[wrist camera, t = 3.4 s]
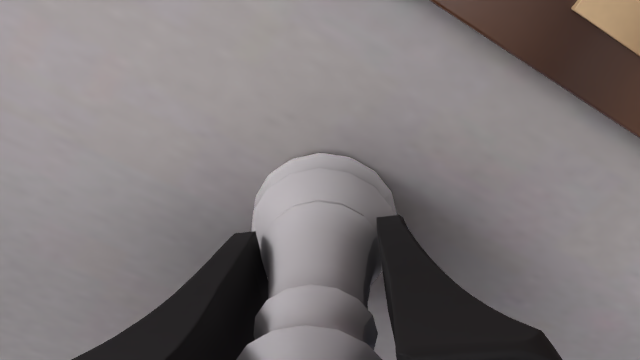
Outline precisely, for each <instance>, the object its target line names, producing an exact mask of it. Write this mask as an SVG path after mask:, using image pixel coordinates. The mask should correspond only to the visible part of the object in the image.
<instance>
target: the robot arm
mask: <svg viewBox="0 0 640 360" xmlns="http://www.w3.org/2000/svg"><path fill="white" fill-rule="evenodd" d="M376 220H377V234H378V241H379V248H380V255H381V263H382V270H383V277H384V284H385V292H386V299H387V306H388V312H389V317H390V321H391V326H392V331H393V335H394V340H395V346H396V357H397V360H562V358H561V357H560V355H559V354H558V352H557V351H556V349H555V348H554V346H553V345H552V344H551V342H550V341H549V340H548V338H547V337H546V336H545V334H544V333H543V332H542V331H541V330H538V329H536V328H533V327H531V326H529V325H526V324H524V323H521V322H519V321H516V320H514V319H512V318H510V317H508V316H506V315H504V314H502V313H500V312H498V311H496V310H494V309H492V308H491V307H489V306H487V305H486V304H484V303H483V302H481V301H479V300H478V299H476V298H475V297H473V296H472V295H470V294H469V293H468V292H466V291H465V290H464V289H462V288H461V287H460V286H459V285H458V284H456V283H455V282H454V281H453V280H452V279H451V278H449V277H448V276H447V275H446V274H445V273H444V272H443V271H442V270H441V269H440V268H439V267H438V266H437V265H436V264H435V263H434V262H433V261H432V259H431V258H430V257H429V256H428V255H427V254H426V252H425V251H424V250H423V249H422V247H421V246H420V245H419V244H418V242H417V241H416V240H415V238H414V237H413V235H412V234H411V232H410V231H409V229H408V227H407V226H406V224H405V222H404V219H403V218H402V217H401V216H400V215H393V216H385V217H376ZM266 300H268V278H267V275H266V272H265V269H264V265H263V262H262V258H261V253H260V247H259V243H258V239H257V235H256V231H253V232H245V233H236V234H234V235H233V236H232V237H231V238H230V239H229V240H228V241H227V242H226V243H225V244H224V245H223V246H222V247H221V248H220V249H219V250H218V251H217V252H216V253H215V254H214V255H213V257H212V258H211V259H210V260H209V261H208V262H207V263H206V264H205V265H204V266H203V267H202V268H201V269H200V270H199V271H198V272H197V273H196V274H195V275H194V276H193V277H192V278H191V279H190V280H189V281H187V282H186V283H185V284H184V285H183V286H182V287H181V288H180V289H179V290H178V291H177V292H176V293H175V294H173V295H172V296H171V297H170V298H169V299H168V300H166V301H165V302H164V303H163V304H161V305H160V306H159V307H157V308H156V309H155V310H154V311H152V312H151V313H150V314H148V315H147V316H145V317H144V318H143V319H141V320H140V321H138V322H137V323H135V324H133V325H132V326H130V327H129V328H127V329H126V330H124V331H123V332H121V333H120V334H118V335H117V336H115V337H113V338H111V339H110V340H108V341H106V342H104V343H103V344H101V345H99V346H97V347H95V348H93V349H92V350H90V351H88V352H86V353H84V354H82V355H80V356H78V357H76V358H74V359H71V360H236V359H237V358H238V357H239V355H240V354H241V352H242V351H243V350H244V348H245V347H246V345H247V344H249V343H251V342H253V341H254V340H255V338H254V336H253V334H254V324H255V316H256V315H257V313H258V312H259V311H260V309H261V308H262V306H263V305H264V303H265V302H266Z"/></svg>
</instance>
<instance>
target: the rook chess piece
mask: <svg viewBox="0 0 640 360" xmlns="http://www.w3.org/2000/svg"><path fill="white" fill-rule="evenodd" d="M393 215H397V213H396V209H395V204H394V200H393V196H392V192H391V191H390V189H389V188H388V187H387V186H386V184H385V183H384V182H383V181H382V179H381V178H380V177H379V175H378V174H377V173H376V172H375V171H374V170H372V169H370V168H369V167H367V166H365V165H363V164H361V163H360V162H358V161H356V160H354V159H352V158H351V157H346V156H339V155H332V154H325V153H317V154H312V155H308V156H303V157H299V158H294V159H291V160H289V161H288V162H286V163H285V164H283V165H282V166H281V167H279V168H278V169H276V170H275V171H273V172H272V173H270V174H269V175H268V177H267V178H266V180H265V182H264V183H263V185H262V186H261V188H260V190H259V191H258V193H257V195H256V196H255V207H254V211H253V218H252V229H251V232H253V231H256V235H257V239H258V243H259V247H260V253H261V258H262V262H263V265H264V269H265V272H266V275H267V277H268V300H266V302H265V303H264V305H263V306H262V308H261V309H260V311H259V312H258V313H257V315H256V316H255V324H254V334H253V336H254V338H255V340H254V341H253V342H251V343H249V344H247V345H246V347H245V348H244V350H243V351H242V352H241V354H240V355H239V357H238V358H237V359H236V360H382V359H381V358H380V357H379V356H378V355H377V354H376V353H375V352H374V347H375V343H376V339H377V335H378V333H377V329H376V326H375V322H374V318H373V315H372V314H371V313H370V312H369V311H368V306H367V303H368V297H369V291H370V286H371V285H372V283H373V282H374V281H375V280H376V278H377V277H378V276H379V275H380V273H381V272H382V271H383V270H382V263H381V255H380V248H379V241H378V234H377V220H376V217H385V216H393Z"/></svg>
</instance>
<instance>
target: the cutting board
mask: <svg viewBox="0 0 640 360" xmlns="http://www.w3.org/2000/svg"><path fill="white" fill-rule="evenodd" d="M430 1H431V2H433V3H434V4H436V5H437V6H439V7H440V8H442V9H443V10H445V11H446V12H448V13H449V14H451V15H453V16H454V17H456V18H457V19H459V20H460V21H462V22H463V23H465V24H466V25H468V26H469V27H471V28H472V29H474V30H475V31H477V32H478V33H480V34H482V35H483V36H485V37H486V38H488V39H489V40H491V41H492V42H494V43H495V44H497V45H498V46H500V47H501V48H503V49H504V50H506V51H507V52H509V53H511V54H512V55H514V56H515V57H517V58H518V59H520V60H521V61H523V62H524V63H526V64H527V65H529V66H530V67H532V68H533V69H535V70H536V71H538V72H540V73H541V74H543V75H544V76H546V77H547V78H549V79H550V80H552V81H553V82H555V83H556V84H558V85H559V86H561V87H562V88H564V89H565V90H567V91H569V92H570V93H572V94H573V95H575V96H576V97H578V98H579V99H581V100H582V101H584V102H585V103H587V104H588V105H590V106H591V107H593V108H594V109H596V110H598V111H599V112H601V113H602V114H604V115H605V116H607V117H608V118H610V119H611V120H613V121H614V122H616V123H617V124H619V125H620V126H622V127H623V128H625V129H627V130H628V131H630V132H631V133H633V134H634V135H636V136H637V137H639V138H640V0H430Z"/></svg>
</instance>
